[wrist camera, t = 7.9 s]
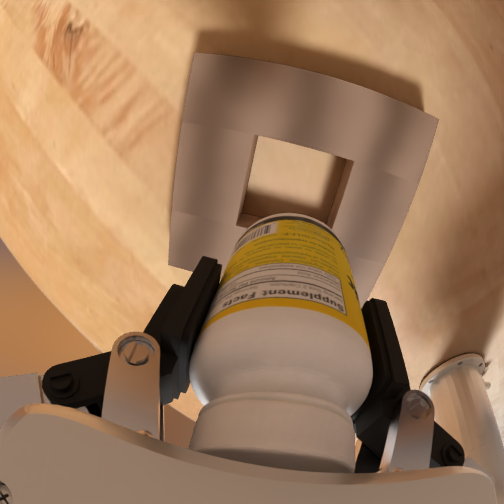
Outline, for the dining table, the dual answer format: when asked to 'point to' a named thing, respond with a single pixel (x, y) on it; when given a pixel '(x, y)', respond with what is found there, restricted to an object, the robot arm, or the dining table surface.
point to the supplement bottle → (283, 352)
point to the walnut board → (301, 133)
